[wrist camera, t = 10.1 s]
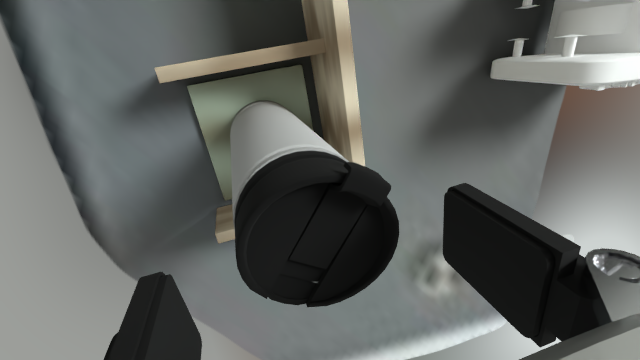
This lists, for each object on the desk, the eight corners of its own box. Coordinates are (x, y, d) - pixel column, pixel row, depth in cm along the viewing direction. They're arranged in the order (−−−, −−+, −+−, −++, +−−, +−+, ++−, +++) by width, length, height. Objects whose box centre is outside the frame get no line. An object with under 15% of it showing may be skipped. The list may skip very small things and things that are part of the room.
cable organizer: (605, -32, 33) (782, -74, 22) (579, 72, 37) (717, 77, 26) (490, -31, 29) (634, -81, 19) (475, 83, 33) (587, 94, 23)
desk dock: (89, -158, 19) (8, -286, 12) (288, -166, 22) (318, -277, 14) (219, 216, 31) (217, 264, 24) (339, 183, 33) (370, 218, 26)
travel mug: (309, 114, 29) (441, 204, 11) (280, 174, 30) (355, 339, 13) (248, 83, 27) (290, 135, 9) (219, 150, 28) (204, 313, 10)
